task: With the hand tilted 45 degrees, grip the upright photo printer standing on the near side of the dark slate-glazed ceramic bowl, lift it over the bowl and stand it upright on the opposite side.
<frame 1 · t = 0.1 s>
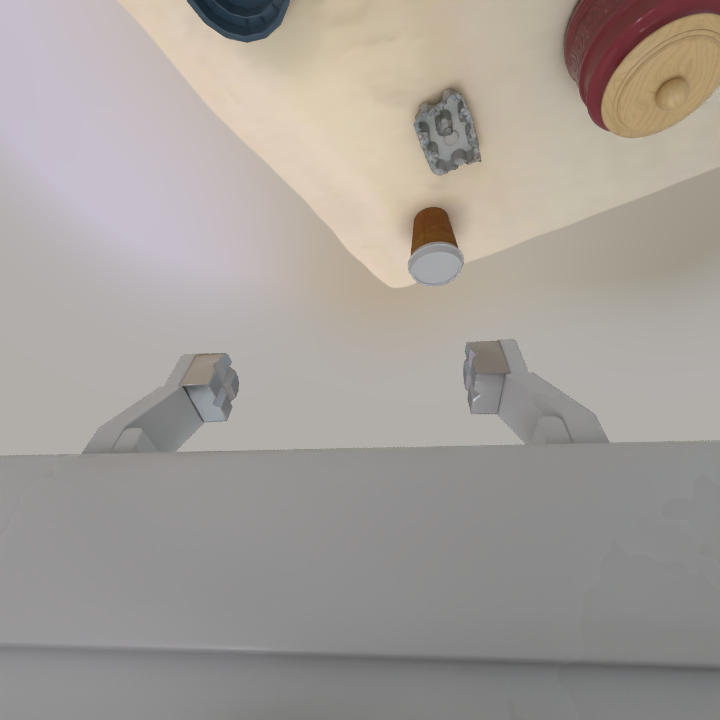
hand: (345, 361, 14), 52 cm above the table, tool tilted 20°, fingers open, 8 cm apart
kitchen canister: (620, 19, 47), on the table
disposable coffee cup: (430, 220, 74), on the table
grey packaging insert: (445, 127, 59), on the table
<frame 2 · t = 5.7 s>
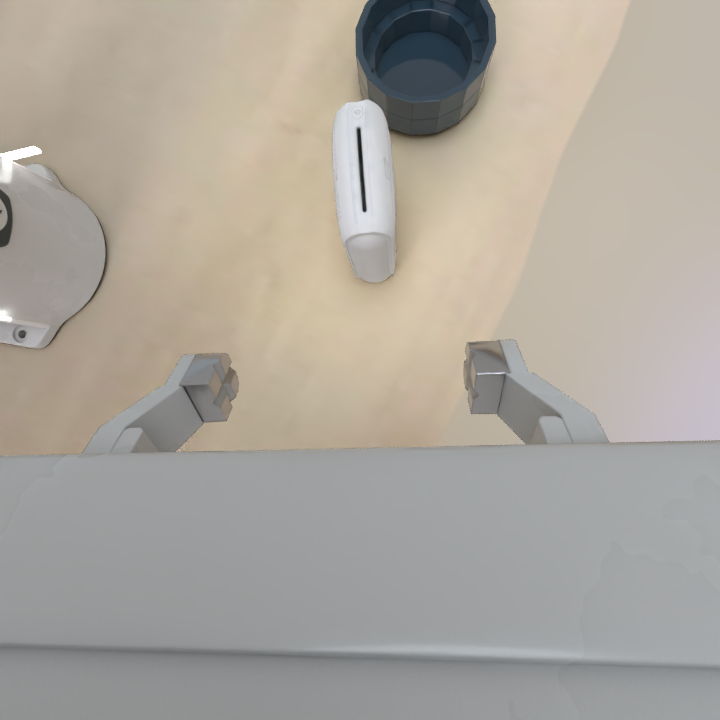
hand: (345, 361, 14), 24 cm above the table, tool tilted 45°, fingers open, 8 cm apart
bowl: (420, 79, 38), on the table
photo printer: (372, 231, 38), on the table
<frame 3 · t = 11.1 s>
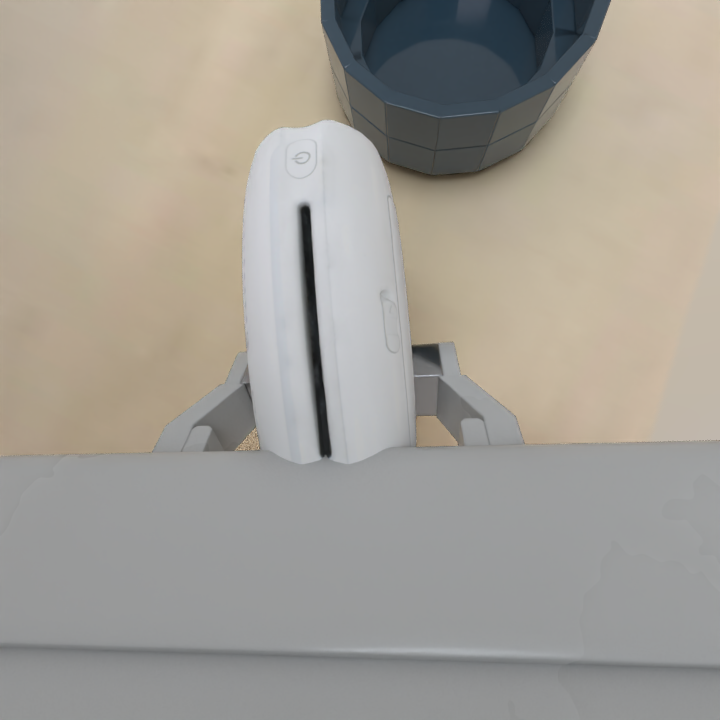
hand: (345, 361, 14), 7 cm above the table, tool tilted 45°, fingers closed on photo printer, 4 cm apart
bowl: (447, 73, 21), on the table
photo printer: (363, 351, 21), on the table, touching gripper
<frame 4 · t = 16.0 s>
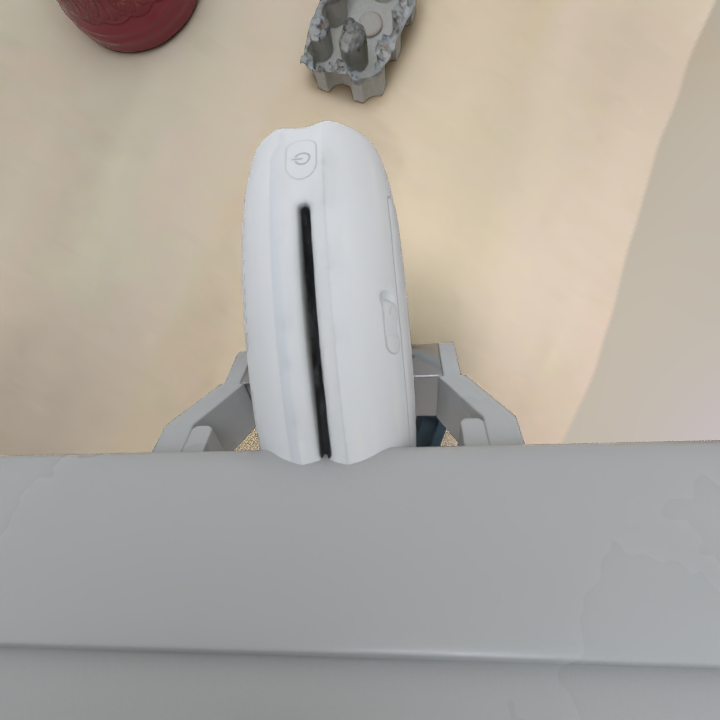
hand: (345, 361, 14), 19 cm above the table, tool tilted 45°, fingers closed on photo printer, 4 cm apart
bowl: (368, 406, 33), on the table
grey packaging insert: (365, 46, 35), on the table
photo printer: (363, 352, 21), point 12 cm above the table, touching gripper
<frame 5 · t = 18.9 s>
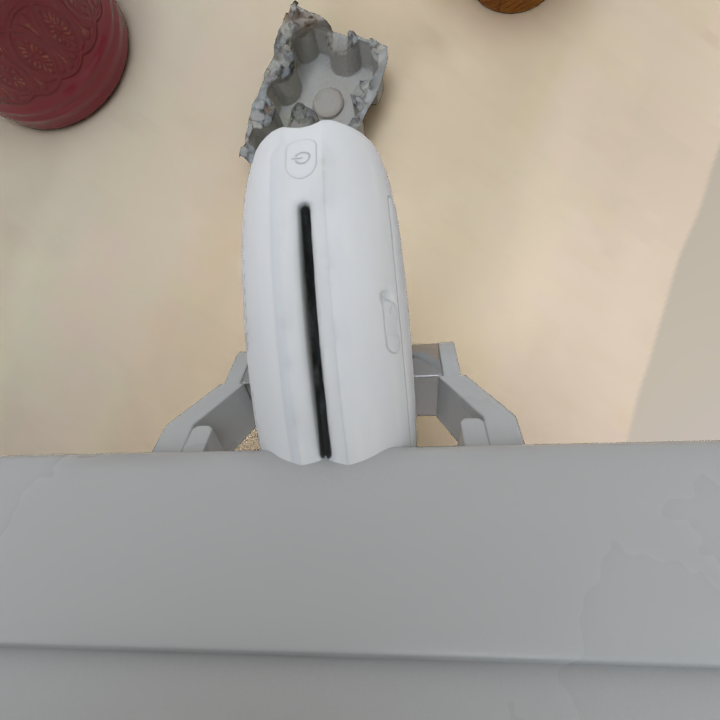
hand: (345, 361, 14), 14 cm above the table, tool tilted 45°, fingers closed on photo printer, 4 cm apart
kitchen canister: (58, 57, 31), on the table
grey packaging insert: (322, 128, 29), on the table
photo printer: (363, 352, 21), point 7 cm above the table, touching gripper
when the fingers open (7 cm above the table, at t = 21.2 s): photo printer stays where it is, on the table.
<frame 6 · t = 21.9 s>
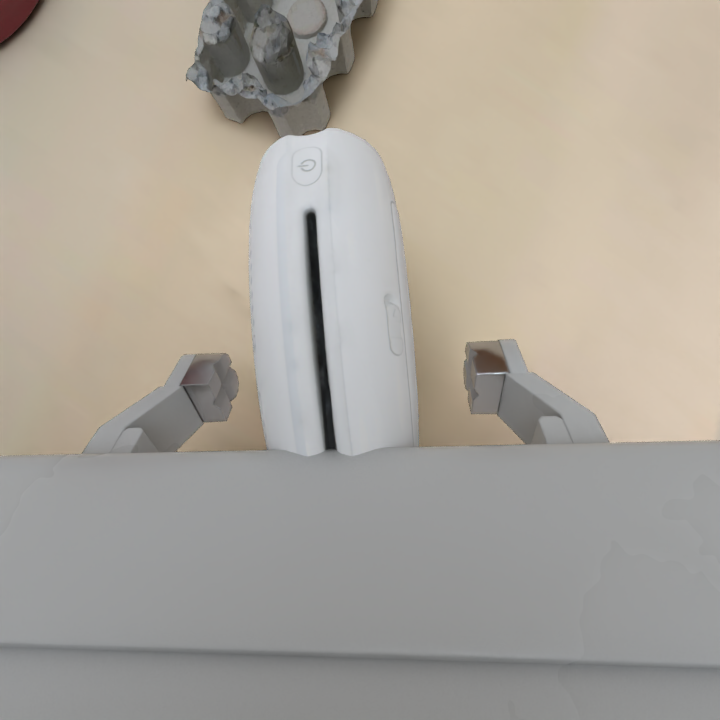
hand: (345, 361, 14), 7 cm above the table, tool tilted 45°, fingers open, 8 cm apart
grey packaging insert: (300, 52, 22), on the table
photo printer: (366, 352, 21), on the table
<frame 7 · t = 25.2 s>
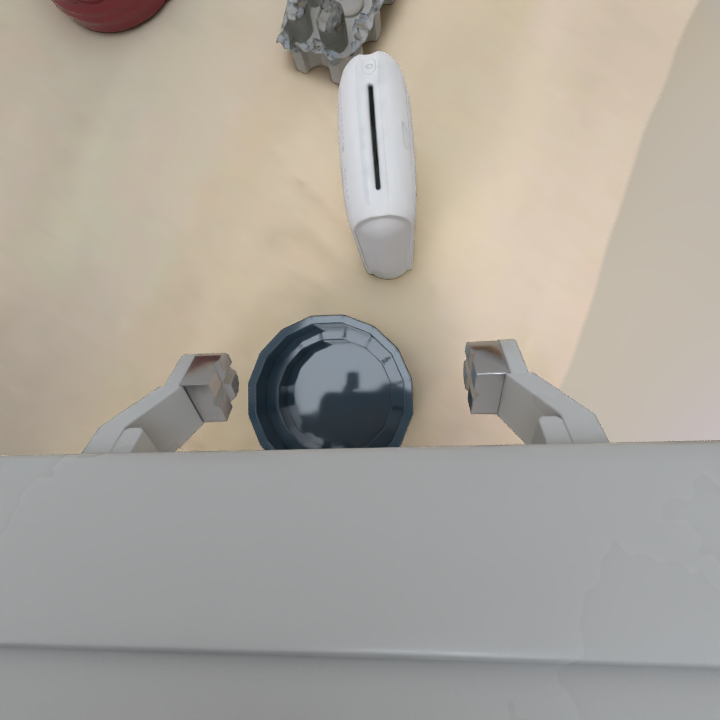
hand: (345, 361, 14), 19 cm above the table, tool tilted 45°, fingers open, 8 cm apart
bowl: (340, 395, 32), on the table
grey packaging insert: (345, 27, 34), on the table
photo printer: (385, 219, 33), on the table
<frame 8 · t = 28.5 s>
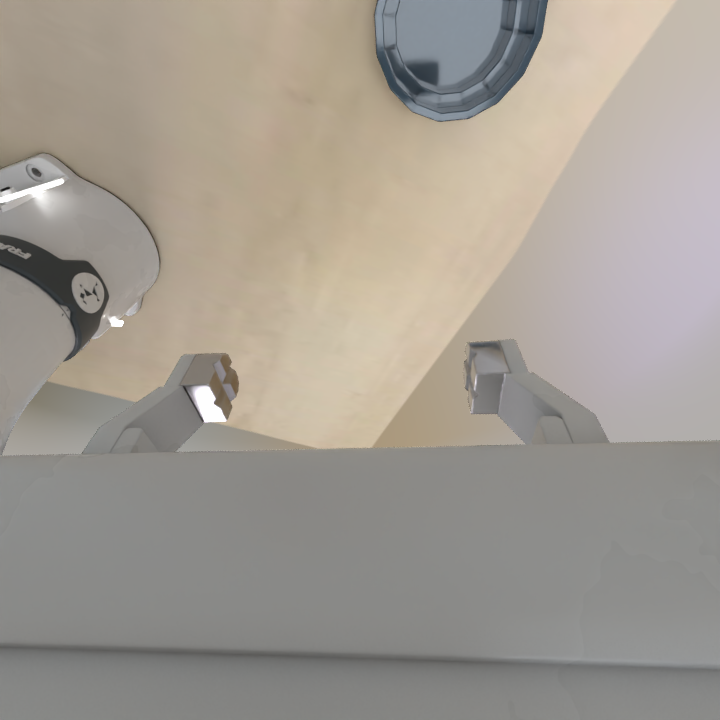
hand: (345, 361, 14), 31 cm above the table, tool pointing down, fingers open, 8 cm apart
bowl: (449, 22, 31), on the table
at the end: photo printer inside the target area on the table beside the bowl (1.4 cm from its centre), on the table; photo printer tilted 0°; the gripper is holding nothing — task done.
